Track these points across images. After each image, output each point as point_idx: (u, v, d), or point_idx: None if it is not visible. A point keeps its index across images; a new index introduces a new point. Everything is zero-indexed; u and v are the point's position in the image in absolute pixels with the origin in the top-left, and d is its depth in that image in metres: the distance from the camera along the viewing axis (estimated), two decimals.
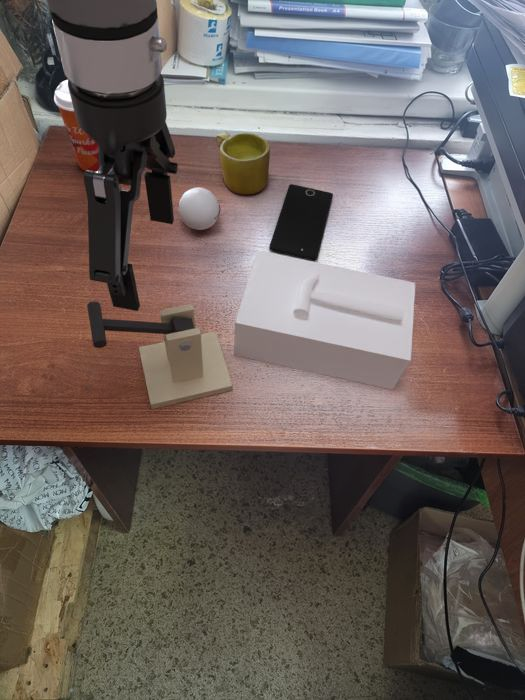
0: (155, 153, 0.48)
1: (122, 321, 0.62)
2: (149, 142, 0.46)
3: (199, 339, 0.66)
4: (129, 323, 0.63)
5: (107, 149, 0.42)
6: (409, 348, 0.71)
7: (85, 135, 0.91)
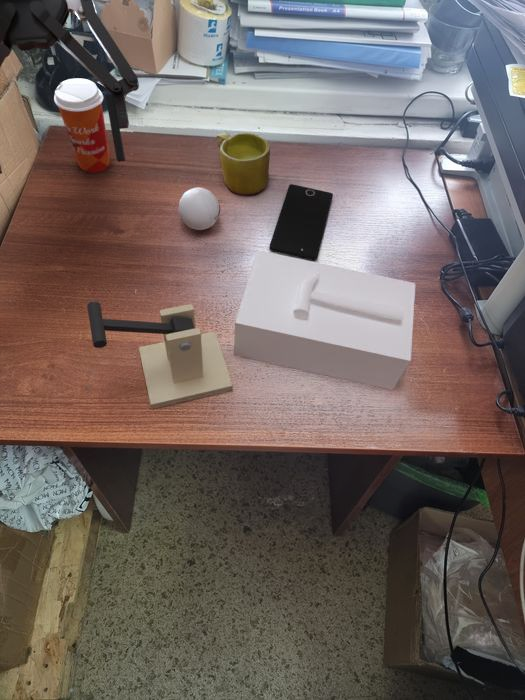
0: (12, 45, 0.54)
1: (122, 321, 0.62)
2: None
3: (199, 339, 0.66)
4: (129, 323, 0.63)
5: None
6: (409, 348, 0.71)
7: (85, 135, 0.91)
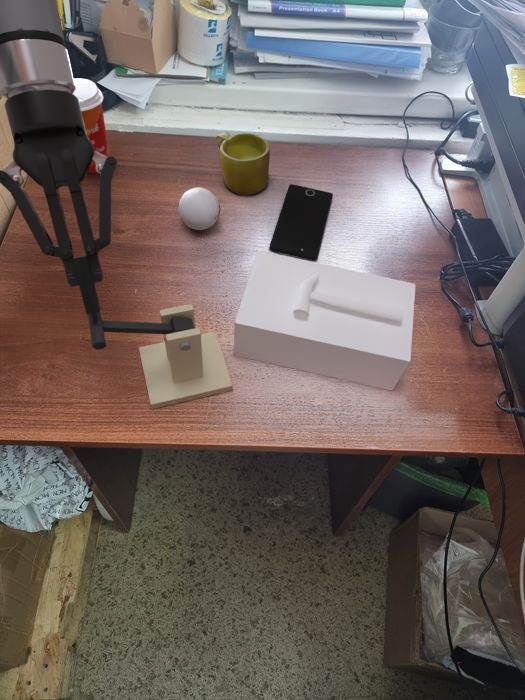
0: None
1: (121, 322, 0.63)
2: None
3: (199, 339, 0.66)
4: (128, 324, 0.63)
5: (86, 134, 0.56)
6: (409, 349, 0.71)
7: None
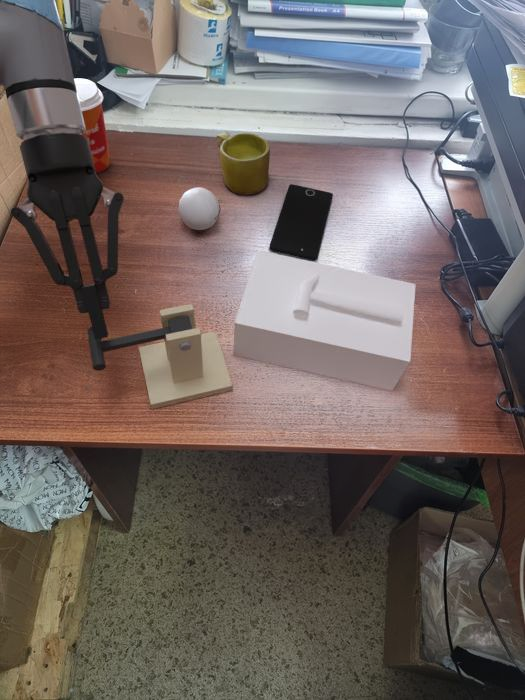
0: None
1: (119, 338, 0.65)
2: None
3: (199, 339, 0.66)
4: (125, 338, 0.65)
5: (95, 172, 0.60)
6: (409, 349, 0.71)
7: (85, 135, 0.91)
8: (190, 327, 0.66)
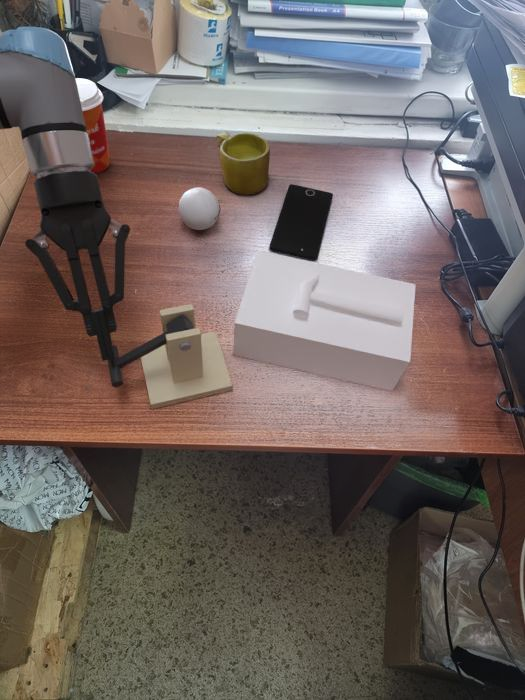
0: None
1: (129, 353, 0.69)
2: None
3: (199, 339, 0.66)
4: (134, 351, 0.68)
5: (103, 205, 0.64)
6: (408, 350, 0.71)
7: None
8: (184, 326, 0.65)
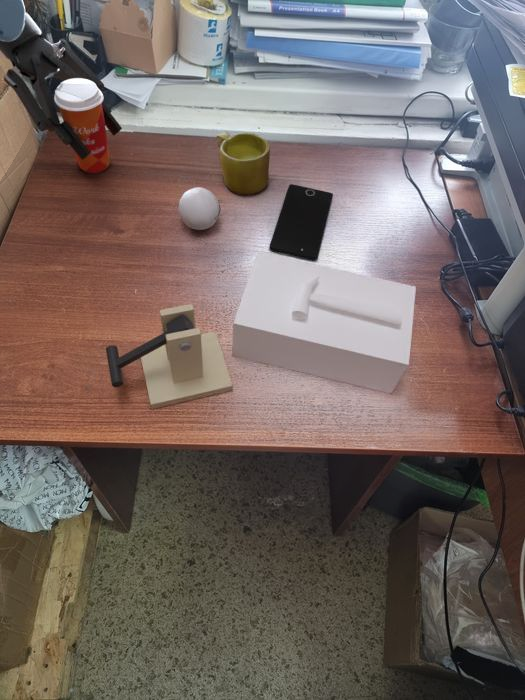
0: None
1: (129, 353, 0.69)
2: None
3: (199, 339, 0.66)
4: (134, 351, 0.68)
5: None
6: (407, 352, 0.71)
7: (85, 135, 0.91)
8: (184, 326, 0.65)
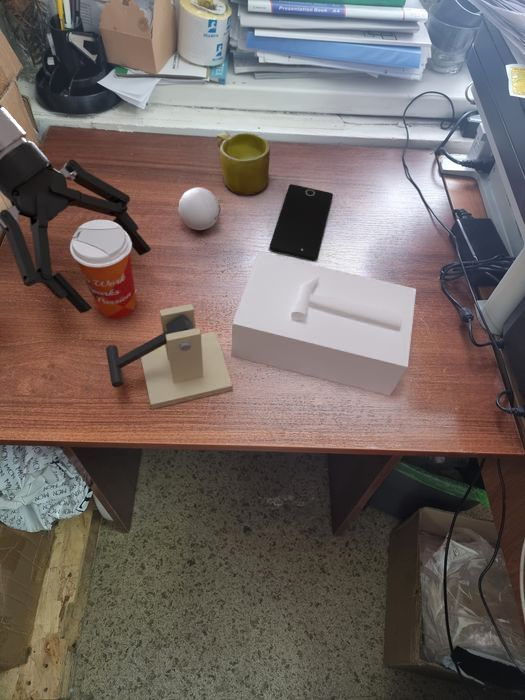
0: None
1: (129, 353, 0.69)
2: None
3: (199, 339, 0.66)
4: (134, 351, 0.68)
5: None
6: (407, 354, 0.70)
7: (109, 287, 0.73)
8: (184, 326, 0.65)
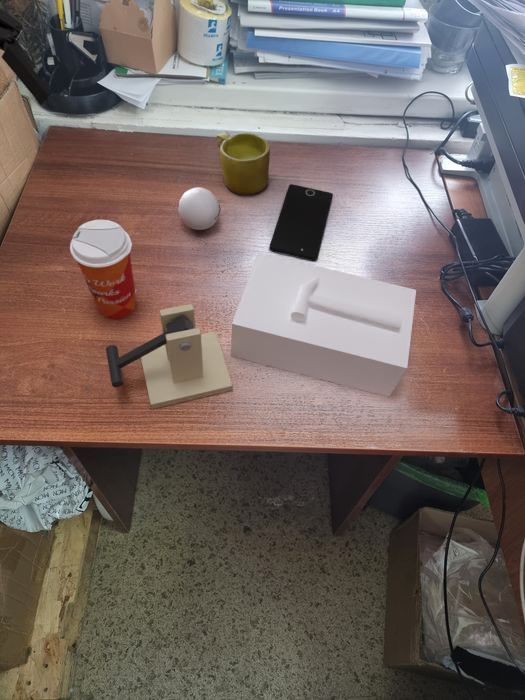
0: None
1: (129, 353, 0.69)
2: None
3: (199, 339, 0.66)
4: (134, 351, 0.68)
5: None
6: (406, 355, 0.70)
7: (109, 287, 0.73)
8: (184, 326, 0.65)
